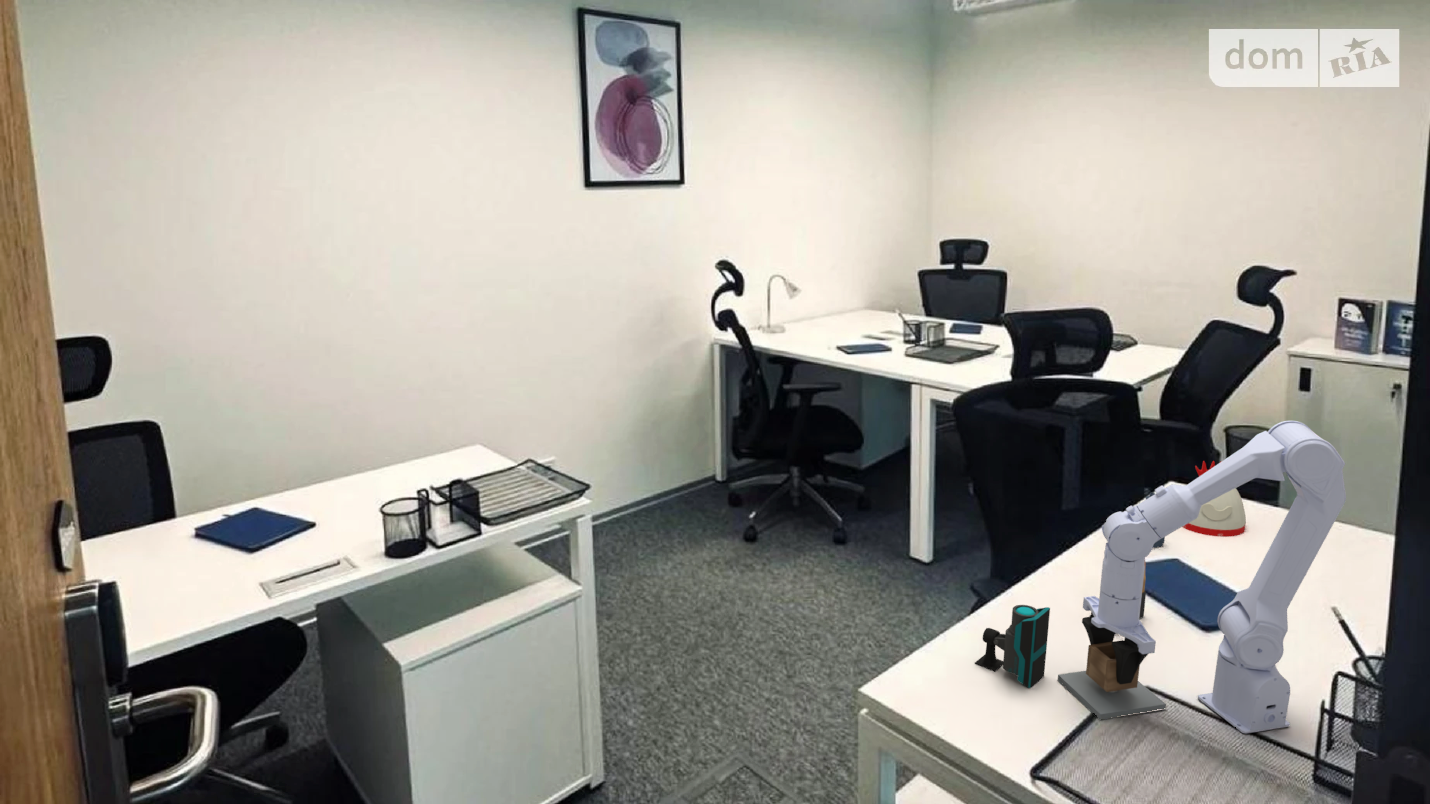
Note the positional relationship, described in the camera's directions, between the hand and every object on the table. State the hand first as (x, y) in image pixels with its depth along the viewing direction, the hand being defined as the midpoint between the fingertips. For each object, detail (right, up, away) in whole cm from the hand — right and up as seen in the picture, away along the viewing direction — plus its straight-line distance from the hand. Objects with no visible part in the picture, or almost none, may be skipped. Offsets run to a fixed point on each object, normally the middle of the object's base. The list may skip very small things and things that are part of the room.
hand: (1112, 672), depth 139 cm
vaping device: (+32, +11, +54) cm, 64 cm away
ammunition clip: (+12, +2, +22) cm, 25 cm away
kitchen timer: (+50, +14, +65) cm, 83 cm away
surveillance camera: (-13, -2, +8) cm, 16 cm away
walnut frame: (0, -1, 0) cm, 1 cm away
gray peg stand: (0, -4, +1) cm, 4 cm away
